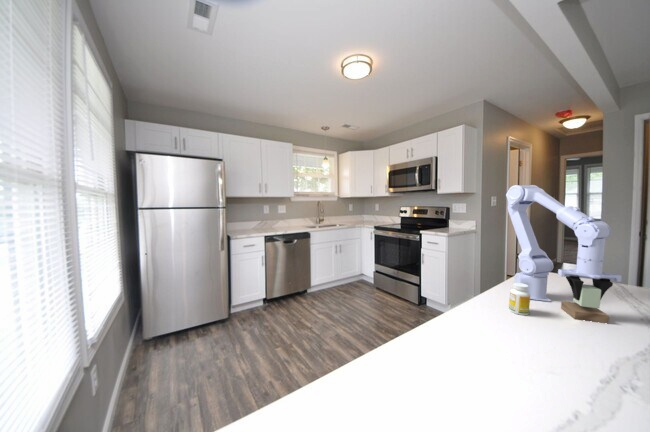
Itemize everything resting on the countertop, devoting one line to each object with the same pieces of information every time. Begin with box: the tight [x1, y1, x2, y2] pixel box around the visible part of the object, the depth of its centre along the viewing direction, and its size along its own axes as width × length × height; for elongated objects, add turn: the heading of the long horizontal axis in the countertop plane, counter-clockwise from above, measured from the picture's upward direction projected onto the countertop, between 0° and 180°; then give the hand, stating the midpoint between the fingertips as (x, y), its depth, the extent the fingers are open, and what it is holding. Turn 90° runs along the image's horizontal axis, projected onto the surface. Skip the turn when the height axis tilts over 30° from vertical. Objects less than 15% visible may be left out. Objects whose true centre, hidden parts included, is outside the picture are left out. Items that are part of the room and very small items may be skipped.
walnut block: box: [560, 300, 610, 325], centre depth 80 cm, size 8×8×3 cm
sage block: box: [572, 283, 602, 309], centre depth 79 cm, size 4×4×6 cm
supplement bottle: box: [508, 282, 531, 316], centre depth 83 cm, size 5×5×10 cm
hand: (586, 299), depth 79 cm, fingers closed on sage block, 4 cm apart
